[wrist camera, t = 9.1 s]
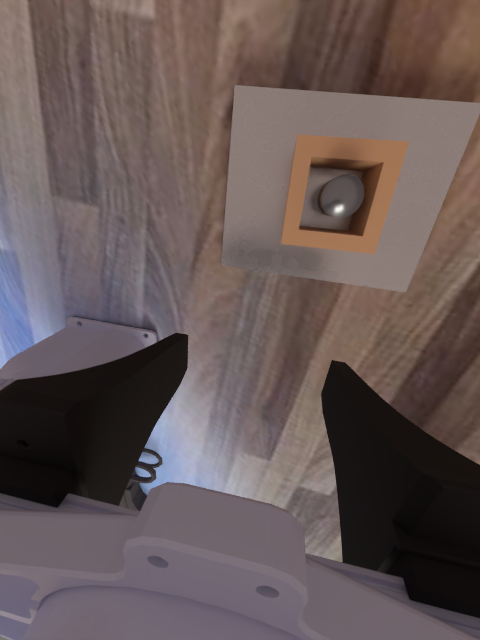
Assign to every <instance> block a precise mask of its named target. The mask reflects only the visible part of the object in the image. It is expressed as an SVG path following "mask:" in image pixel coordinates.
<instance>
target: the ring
mask: <svg viewBox="0 0 480 640" xmlns="http://www.w3.org/2000/svg"><path fill="white" fill-rule="evenodd" d="M408 145H409V142H408V141H392V140H377V139H361V138H345V137H330V136H314V135H298V134H297V139H296V144H295V150H294V157H293V163H292V170H291V177H290V183H289V190H288V197H287V203H286V210H285V217H284V223H283V230H282V237H281V244H286V245H295V246H304V247H313V248H322V249H331V250H340V251H349V252H358V253H367V254H375V251H376V248H377V245H378V242H379V238H380V235H381V232H382V229H383V225H384V222H385V219H386V216H387V213H388V209H389V206H390V203H391V200H392V197H393V193H394V190H395V187H396V184H397V180H398V177H399V174H400V171H401V168H402V164H403V161H404V158H405V155H406V151H407V148H408ZM310 167H317V168H330V169H343V170H356V171H363V175H362V179H361V182H362V184H363V186H364V198H363V201H362V204H361V205H360V207H359V208H358V209H357V210H356V211H355V212H354V213H353V214H352V218H351V222H350V226H349V230H348V231H345V230H335V229H326V228H316V227H306V226H300V220H301V214H302V209H303V203H304V197H305V192H306V186H307V180H308V175H309V169H310Z"/></svg>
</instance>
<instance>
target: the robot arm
mask: <svg viewBox="0 0 480 640" xmlns="http://www.w3.org/2000/svg"><path fill="white" fill-rule="evenodd" d="M66 322H67V327H66V328H64V329H62V330H60V331H59V332H57V333H55V334H53V335H51V336H50V337H48V338H46V339H44V340H42V341H41V342H39V343H37V344H35V345H33V346H32V347H30V348H28V349H26V350H24V351H23V352H21V353H19V354H17V355H16V356H14V357H13V358H11V359H10V360H9V361H8V362H7V363H6V364H5V365H4V366H3V367H2V368H1V370H0V636H2V637H4V638H7V639H9V640H480V465H479V464H477V463H475V462H473V461H472V460H470V459H468V458H466V457H465V456H463V455H461V454H459V453H458V452H456V451H454V450H453V449H451V448H449V447H448V446H446V445H444V444H443V443H441V442H440V441H438V440H436V439H435V438H433V437H432V436H430V435H429V434H427V433H426V432H424V431H423V430H421V429H420V428H419V427H417V426H416V425H414V424H413V423H412V422H410V421H409V420H408V419H406V418H405V417H404V416H403V415H401V414H400V413H399V412H397V411H396V410H395V409H394V408H393V407H391V406H390V405H389V404H388V403H387V402H386V401H384V400H383V399H382V398H381V397H380V396H379V395H378V394H377V393H376V392H375V391H374V390H372V389H371V388H370V387H369V386H368V385H367V384H366V383H365V382H364V381H363V380H362V379H361V378H360V377H359V376H358V375H357V374H356V373H355V372H354V371H353V370H352V369H351V368H350V367H349V366H348V365H347V364H346V363H345V362H339V361H333V360H332V361H331V365H330V368H329V371H328V374H327V377H326V380H325V383H324V387H323V390H322V393H321V396H322V409H323V415H324V420H325V425H326V429H327V434H328V438H329V443H330V447H331V451H332V456H333V461H334V467H335V476H336V484H337V493H338V504H339V514H340V527H341V541H342V558H343V563H342V562H338V561H334V560H330V559H326V558H322V557H318V556H314V555H310V554H306V553H305V540H304V528H303V526H302V524H301V523H300V522H299V521H298V520H297V519H296V518H295V517H294V516H293V515H292V514H291V513H290V512H289V511H287V510H284V509H282V508H279V507H277V506H274V505H272V504H269V503H265V502H260V501H256V500H252V499H248V498H244V497H239V496H235V495H231V494H227V493H222V492H218V491H214V490H210V489H206V488H201V487H197V486H193V485H189V484H185V483H170V482H167V483H164V484H162V485H160V486H157V487H155V488H152V489H150V492H149V494H148V496H147V498H146V500H145V502H144V504H143V506H142V509H141V511H136V510H132V509H128V508H124V507H121V506H119V504H120V502H121V499H122V497H123V495H124V492H125V490H126V487H127V485H128V483H129V480H130V478H131V476H132V474H133V471H134V469H135V467H136V464H137V462H138V460H139V458H140V456H141V453H142V451H143V449H144V447H145V445H146V443H147V441H148V439H149V437H150V435H151V432H152V430H153V428H154V426H155V425H156V423H157V421H158V419H159V418H160V416H161V414H162V413H163V411H164V410H165V408H166V406H167V405H168V403H169V402H170V400H171V398H172V397H173V395H174V394H175V392H176V390H177V389H178V387H179V385H180V384H181V381H182V379H183V377H184V375H185V372H186V370H187V363H188V335H186V334H180V333H175V334H173V335H171V336H168V337H166V338H164V339H162V340H160V341H158V342H157V334H156V332H154V331H152V330H146V329H140V328H135V327H129V326H124V325H118V324H112V323H107V322H101V321H95V320H90V319H84V318H78V317H73V316H70V317H68V318H67V319H66ZM80 322H81V323H82V324H81V323H80ZM145 333H146V334H147V335H148V336H146V334H145Z"/></svg>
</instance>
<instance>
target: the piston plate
mask: <svg viewBox="0 0 480 640" xmlns="http://www.w3.org/2000/svg"><path fill="white" fill-rule="evenodd" d="M479 114H480V103H472V102H458V101H445V100H431V99H417V98H404V97H390V96H377V95H363V94H349V93H336V92H322V91H308V90H295V89H281V88H267V87H254V86H240V85H235V89H234V102H233V116H232V129H231V142H230V155H229V168H228V182H227V195H226V208H225V221H224V234H223V248H222V261H221V265H222V266H229V267H236V268H243V269H249V270H256V271H263V272H270V273H277V274H284V275H291V276H297V277H304V278H311V279H318V280H325V281H332V282H338V283H345V284H352V285H359V286H366V287H373V288H379V289H386V290H393V291H400V292H406V291H407V288H408V286H409V284H410V281H411V279H412V276H413V274H414V271H415V269H416V267H417V264H418V262H419V259H420V257H421V255H422V252H423V250H424V247H425V245H426V242H427V240H428V238H429V235H430V233H431V230H432V228H433V226H434V223H435V221H436V218H437V216H438V213H439V211H440V209H441V206H442V204H443V201H444V199H445V197H446V194H447V192H448V189H449V187H450V184H451V182H452V180H453V177H454V175H455V172H456V170H457V168H458V165H459V163H460V160H461V158H462V155H463V153H464V151H465V148H466V146H467V143H468V141H469V139H470V136H471V134H472V131H473V129H474V126H475V124H476V122H477V119H478V117H479ZM297 134H298V135H314V136H330V137H345V138H361V139H377V140H392V141H408V142H409V145H408V148H407V151H406V155H405V158H404V161H403V164H402V168H401V171H400V174H399V177H398V180H397V184H396V187H395V190H394V193H393V197H392V200H391V203H390V206H389V209H388V213H387V216H386V219H385V222H384V225H383V229H382V232H381V235H380V238H379V242H378V245H377V248H376V251H375V254H367V253H358V252H349V251H340V250H331V249H322V248H313V247H304V246H295V245H286V244H281V237H282V230H283V223H284V217H285V210H286V203H287V197H288V190H289V183H290V177H291V170H292V163H293V157H294V150H295V144H296V139H297ZM362 175H363V171H356V170H343V169H330V168H317V167H310V169H309V175H308V180H307V186H306V192H305V197H304V203H303V209H302V214H301V220H300V226H306V227H316V228H326V229H335V230H345V231H348V230H349V226H350V222H351V218H352V214H353V213H354V212H355V211H356V210H357V209H358V208H359V207H360V205H361V204H362V201H363V198H364V186H363V184H362V182H361V179H362Z"/></svg>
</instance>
